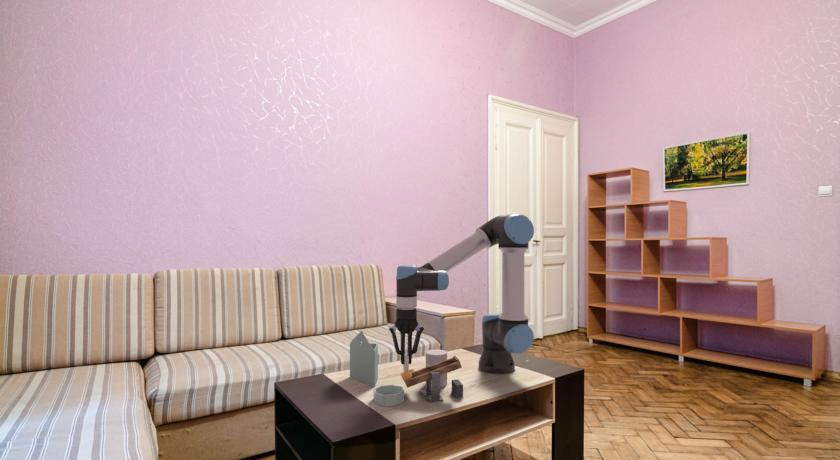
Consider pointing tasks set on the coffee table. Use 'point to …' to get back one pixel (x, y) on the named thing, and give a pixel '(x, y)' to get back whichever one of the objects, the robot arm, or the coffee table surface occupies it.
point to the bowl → (388, 395)
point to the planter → (364, 360)
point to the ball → (406, 375)
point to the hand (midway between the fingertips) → (406, 372)
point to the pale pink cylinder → (437, 357)
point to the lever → (439, 367)
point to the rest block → (457, 388)
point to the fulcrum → (433, 388)
